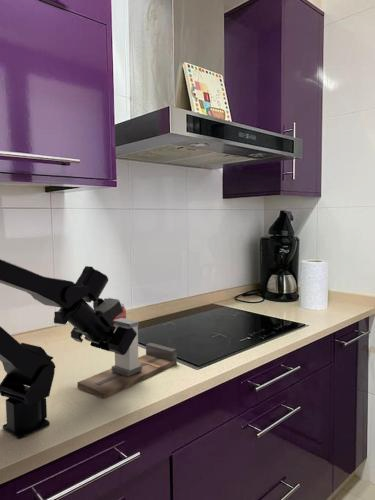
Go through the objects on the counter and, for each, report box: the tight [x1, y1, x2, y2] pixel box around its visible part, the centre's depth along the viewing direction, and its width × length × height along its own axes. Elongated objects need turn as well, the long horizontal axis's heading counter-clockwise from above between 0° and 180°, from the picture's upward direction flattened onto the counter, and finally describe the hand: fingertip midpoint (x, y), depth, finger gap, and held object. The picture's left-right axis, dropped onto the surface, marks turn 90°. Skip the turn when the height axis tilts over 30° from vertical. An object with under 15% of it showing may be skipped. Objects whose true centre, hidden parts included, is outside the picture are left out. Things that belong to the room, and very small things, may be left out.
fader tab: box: [111, 318, 142, 377], centre depth 97 cm, size 5×6×13 cm
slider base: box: [77, 342, 178, 399], centre depth 98 cm, size 26×10×4 cm, turn 142°
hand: (121, 351), depth 96 cm, fingers closed, pressing on fader tab
